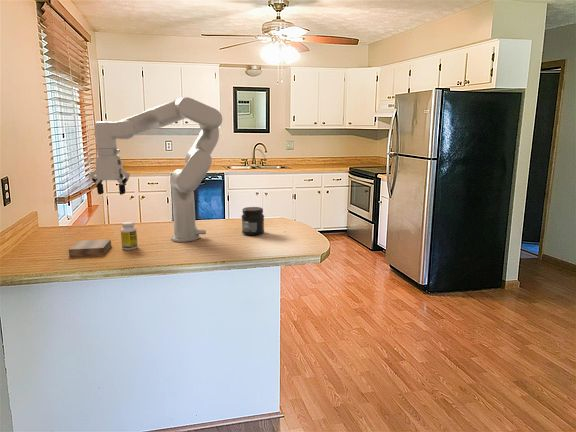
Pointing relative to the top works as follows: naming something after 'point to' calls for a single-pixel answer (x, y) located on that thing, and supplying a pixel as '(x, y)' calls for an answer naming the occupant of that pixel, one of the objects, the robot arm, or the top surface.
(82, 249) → the walnut base
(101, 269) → the top surface
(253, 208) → the supplement container
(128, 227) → the pill bottle
